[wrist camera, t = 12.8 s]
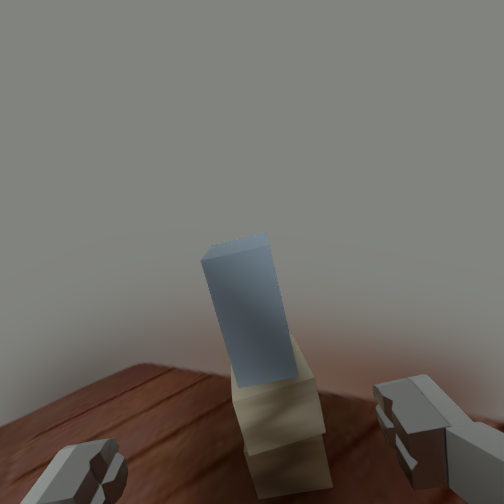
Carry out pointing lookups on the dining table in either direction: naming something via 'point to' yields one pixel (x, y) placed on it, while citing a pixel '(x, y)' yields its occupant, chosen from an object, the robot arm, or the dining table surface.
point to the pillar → (250, 310)
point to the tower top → (279, 409)
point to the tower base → (290, 468)
